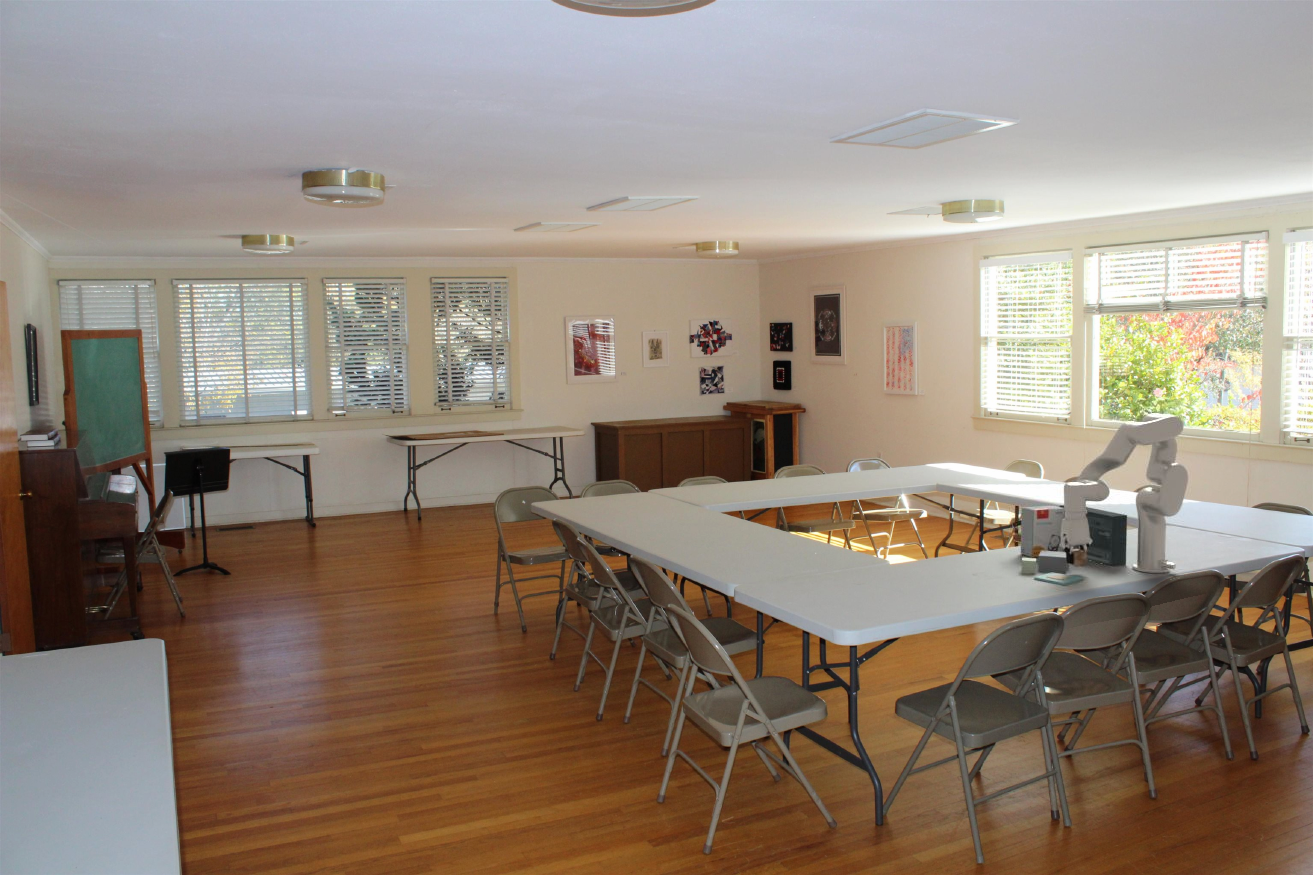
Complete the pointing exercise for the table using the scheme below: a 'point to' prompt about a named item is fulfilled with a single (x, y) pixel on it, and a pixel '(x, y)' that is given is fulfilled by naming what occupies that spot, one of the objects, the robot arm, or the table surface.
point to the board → (1058, 578)
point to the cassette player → (1106, 537)
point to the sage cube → (1029, 565)
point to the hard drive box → (1041, 529)
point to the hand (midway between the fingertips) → (1076, 561)
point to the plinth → (1053, 561)
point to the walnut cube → (1079, 557)
